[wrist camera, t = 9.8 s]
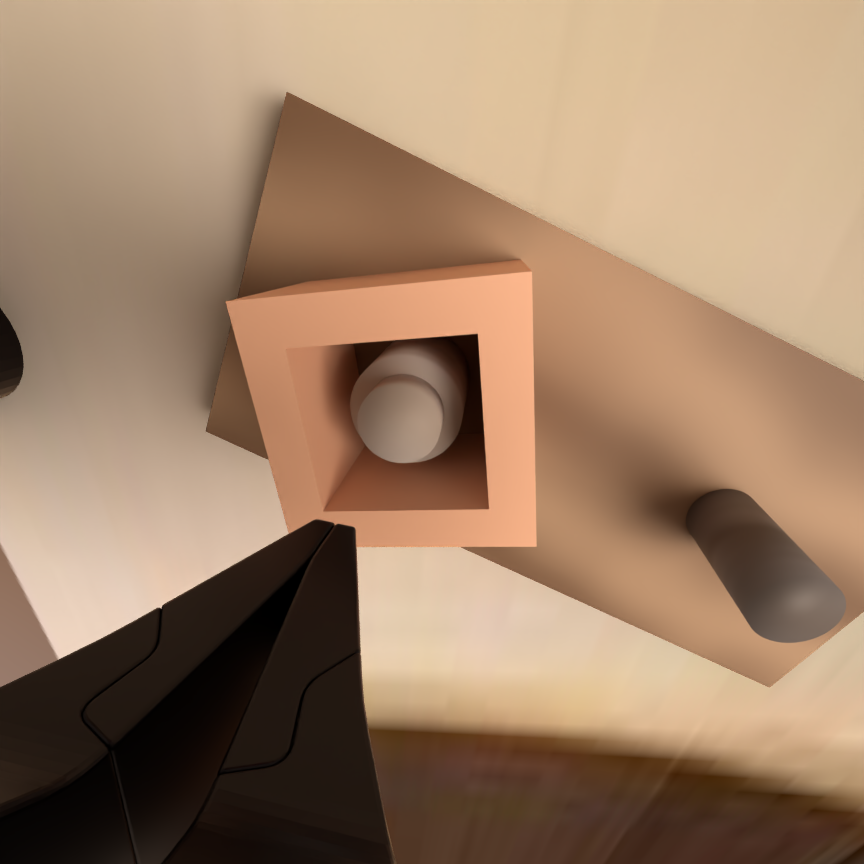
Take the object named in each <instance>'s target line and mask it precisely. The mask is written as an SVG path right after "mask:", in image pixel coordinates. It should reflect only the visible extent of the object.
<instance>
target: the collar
mask: <svg viewBox="0 0 864 864" xmlns="http://www.w3.org/2000/svg"><path fill="white" fill-rule="evenodd" d="M226 305H227V309H228V312H229V316H230V320H231V323H232V327H233V331H234V334H235V338H236V342H237V345H238V349H239V353H240V356H241V360H242V364H243V367H244V371H245V375H246V378H247V382H248V386H249V389H250V393H251V396H252V400H253V404H254V407H255V411H256V415H257V418H258V422H259V426H260V429H261V433H262V437H263V440H264V444H265V448H266V451H267V455H268V459H269V462H270V466H271V470H272V473H273V477H274V481H275V484H276V488H277V492H278V495H279V499H280V503H281V506H282V510H283V514H284V517H285V521H286V525H287V528H288V532H289V533H291V532H293V531H295V530H296V529H298V528H300V527H302V526H304V525H305V524H307V523H309V522H311V521H312V520H315V519H320V520H324V521H329V522H333V523H334V524H335V525H336V524H343V525H348V526H353V527H354V528H355V529H356V547H537V537H536V476H535V415H534V355H533V294H532V271H531V270H530V269H529V267H528V266H527V265H526V264H525V263H524V262H523V261H522V260H511V261H502V262H492V263H482V264H473V265H463V266H453V267H443V268H434V269H424V270H414V271H405V272H395V273H385V274H376V275H366V276H356V277H347V278H337V279H327V280H317V281H308V282H304V283H300V284H296V285H291V286H287V287H283V288H279V289H275V290H271V291H267V292H263V293H259V294H255V295H251V296H246V297H242V298H238V299H234V300H230V301H226ZM467 334H478V342H479V358H480V374H481V389H482V405H483V421H484V433H481V434H458V435H457V437H456V438H455V440H454V441H453V443H452V444H451V445H450V446H449V447H448V448H447V449H446V450H445V451H444V452H442V453H441V454H440V455H438V456H436V457H434V458H432V459H429V460H426V461H422V462H414V463H395V462H390V461H387V460H384V459H382V458H380V457H378V456H377V455H376V454H374V453H373V452H372V451H371V450H370V449H369V448H368V447H367V446H366V445H365V443H364V442H363V440H362V438H361V437H360V435H359V434H358V432H357V430H356V428H355V426H354V423H353V420H352V417H351V410H350V400H351V394H352V391H353V388H354V385H355V383H356V381H357V380H358V378H359V373H358V367H357V361H356V355H355V350H354V344H353V343H364V342H377V341H390V340H403V339H416V338H429V337H442V336H454V335H467Z"/></svg>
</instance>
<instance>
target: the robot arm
mask: <svg viewBox="0 0 864 864" xmlns="http://www.w3.org/2000/svg"><path fill="white" fill-rule="evenodd" d="M22 374H23V354H22V350H21V346H20V343H19V340H18V337H17V335H16V332H15V330H14V329H13V327H12V325H11V323H10V321H9V320H8V318H7V317H6V315H5V314H4V313H3V311H2V310H1V308H0V398H3V397H5V396H8V395H9V394H10V393H12V392H13V391H14V390H15V389H16V387H17V386H18V385H19V383H20V380H21V378H22ZM360 653H361V647H360V622H359V597H358V573H357V548H356V529H355V528H354V527H353V526H348V525H343V524H336V525H335V524H334V523H333V522H329V521H324V520H320V519H315V520H312V521H311V522H309V523H307V524H305V525H304V526H302V527H300V528H298V529H296V530H295V531H293V532H291V533H289V534H288V535H286V536H284V537H282V538H281V539H279V540H277V541H275V542H273V543H272V544H270V545H268V546H266V547H265V548H263V549H261V550H259V551H257V552H256V553H254V554H252V555H250V556H249V557H247V558H245V559H243V560H242V561H240V562H238V563H236V564H234V565H233V566H231V567H229V568H227V569H226V570H224V571H222V572H220V573H219V574H217V575H215V576H213V577H211V578H210V579H208V580H206V581H204V582H203V583H201V584H199V585H197V586H195V587H194V588H192V589H190V590H188V591H187V592H185V593H183V594H181V595H180V596H178V597H176V598H174V599H172V600H171V601H169V602H167V603H165V604H164V605H163V606H162V609H161V608H156V609H154V610H153V611H151V612H149V613H147V614H146V615H144V616H142V617H140V618H138V619H137V620H135V621H133V622H131V623H129V624H127V625H126V626H124V627H122V628H120V629H118V630H116V631H114V632H113V633H111V634H109V635H107V636H105V637H103V638H101V639H99V640H97V641H95V642H93V643H91V644H89V645H87V646H85V647H83V648H81V649H79V650H77V651H75V652H73V653H71V654H69V655H67V656H65V657H63V658H61V659H59V660H57V661H55V662H52V663H50V664H48V665H46V666H44V667H42V668H40V669H38V670H36V671H33V672H31V673H29V674H27V675H25V676H23V677H21V678H19V679H17V680H14V681H12V682H11V683H8V684H6V685H4V686H2V687H0V864H397V863H396V860H395V856H394V852H393V849H392V844H391V840H390V836H389V832H388V827H387V823H386V818H385V813H384V808H383V803H382V798H381V792H380V787H379V782H378V777H377V772H376V767H375V762H374V757H373V751H372V746H371V741H370V736H369V730H368V724H367V718H366V711H365V705H364V695H363V683H362V666H361V655H360Z"/></svg>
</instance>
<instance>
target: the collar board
mask: <svg viewBox="0 0 864 864" xmlns="http://www.w3.org/2000/svg"><path fill="white" fill-rule="evenodd" d="M511 260H522V261H523V262H524V263H525V264H526V265H527V266H528V267H529V269H530V270H531V271H532V294H533V355H534V415H535V476H536V537H537V547H461V548H464V549H466V550H468V551H470V552H472V553H475V554H477V555H479V556H481V557H483V558H486V559H488V560H490V561H492V562H494V563H497V564H499V565H501V566H503V567H505V568H508V569H510V570H512V571H514V572H516V573H519V574H521V575H523V576H525V577H527V578H530V579H532V580H534V581H536V582H538V583H541V584H543V585H545V586H547V587H549V588H552V589H554V590H556V591H558V592H560V593H563V594H565V595H567V596H569V597H572V598H574V599H576V600H578V601H580V602H583V603H585V604H587V605H589V606H591V607H594V608H596V609H598V610H600V611H602V612H605V613H607V614H609V615H611V616H613V617H616V618H618V619H620V620H622V621H624V622H627V623H629V624H631V625H633V626H635V627H638V628H640V629H642V630H644V631H646V632H649V633H651V634H653V635H655V636H657V637H660V638H662V639H664V640H666V641H668V642H671V643H673V644H675V645H677V646H679V647H682V648H684V649H686V650H688V651H690V652H693V653H695V654H697V655H699V656H701V657H704V658H706V659H708V660H710V661H712V662H715V663H717V664H719V665H721V666H723V667H726V668H728V669H730V670H732V671H734V672H737V673H739V674H741V675H743V676H745V677H748V678H750V679H752V680H754V681H756V682H759V683H761V684H763V685H765V686H767V687H771V686H772V685H773V684H774V683H776V682H777V681H778V680H779V679H781V678H782V677H783V676H784V675H786V674H787V673H788V672H789V671H791V670H792V669H793V668H794V667H796V666H797V665H798V664H799V663H801V662H802V661H803V660H804V659H806V658H807V657H808V656H809V655H811V654H812V653H813V652H814V651H815V650H817V649H818V648H819V647H820V646H822V645H823V644H824V643H825V642H827V641H828V640H829V639H830V638H832V637H833V636H834V635H835V634H837V633H838V632H839V631H840V630H842V629H843V628H844V627H845V626H847V625H848V624H849V623H850V622H851V621H853V620H854V619H855V618H856V617H858V616H859V615H860V614H861V613H863V612H864V381H863V380H861V379H859V378H857V377H855V376H853V375H851V374H849V373H847V372H845V371H843V370H841V369H839V368H837V367H835V366H833V365H831V364H829V363H827V362H825V361H823V360H821V359H819V358H817V357H815V356H813V355H811V354H809V353H807V352H805V351H803V350H801V349H799V348H797V347H795V346H793V345H791V344H789V343H787V342H785V341H783V340H781V339H779V338H777V337H775V336H773V335H771V334H769V333H767V332H765V331H763V330H761V329H759V328H757V327H755V326H753V325H751V324H749V323H747V322H745V321H743V320H741V319H739V318H737V317H735V316H733V315H731V314H729V313H727V312H725V311H723V310H721V309H719V308H717V307H715V306H713V305H711V304H709V303H707V302H705V301H703V300H701V299H699V298H697V297H695V296H693V295H691V294H689V293H687V292H685V291H683V290H681V289H679V288H677V287H675V286H673V285H671V284H669V283H667V282H665V281H663V280H661V279H659V278H657V277H655V276H653V275H651V274H649V273H647V272H645V271H643V270H641V269H639V268H637V267H635V266H633V265H631V264H629V263H627V262H625V261H623V260H621V259H619V258H617V257H615V256H613V255H611V254H609V253H607V252H605V251H603V250H601V249H599V248H597V247H595V246H593V245H591V244H589V243H587V242H585V241H583V240H581V239H579V238H577V237H575V236H573V235H571V234H569V233H567V232H565V231H563V230H561V229H560V228H558V227H556V226H554V225H552V224H550V223H548V222H546V221H544V220H542V219H540V218H538V217H536V216H534V215H532V214H530V213H528V212H526V211H524V210H522V209H520V208H518V207H516V206H514V205H512V204H510V203H508V202H506V201H504V200H502V199H500V198H498V197H496V196H494V195H492V194H490V193H488V192H486V191H484V190H482V189H480V188H478V187H476V186H474V185H472V184H470V183H468V182H466V181H464V180H462V179H460V178H458V177H456V176H454V175H452V174H450V173H448V172H446V171H444V170H442V169H440V168H438V167H436V166H434V165H432V164H430V163H428V162H426V161H424V160H422V159H420V158H418V157H416V156H414V155H412V154H410V153H408V152H406V151H404V150H402V149H400V148H398V147H396V146H394V145H392V144H390V143H388V142H386V141H384V140H382V139H380V138H378V137H376V136H374V135H372V134H370V133H368V132H366V131H364V130H362V129H360V128H358V127H356V126H354V125H352V124H350V123H348V122H346V121H344V120H342V119H340V118H338V117H336V116H334V115H332V114H330V113H328V112H326V111H324V110H322V109H320V108H318V107H316V106H314V105H312V104H310V103H308V102H306V101H304V100H302V99H300V98H298V97H296V96H294V95H292V94H290V93H288V92H287V93H286V97H285V101H284V105H283V110H282V114H281V118H280V122H279V126H278V131H277V135H276V139H275V143H274V147H273V151H272V156H271V160H270V164H269V168H268V172H267V177H266V181H265V185H264V189H263V193H262V198H261V202H260V206H259V210H258V214H257V218H256V223H255V227H254V231H253V235H252V239H251V244H250V248H249V252H248V256H247V260H246V265H245V269H244V273H243V277H242V281H241V285H240V290H239V294H238V298H242V297H246V296H251V295H255V294H259V293H263V292H267V291H271V290H275V289H279V288H283V287H287V286H291V285H296V284H300V283H304V282H308V281H317V280H327V279H337V278H347V277H356V276H366V275H376V274H385V273H395V272H405V271H414V270H424V269H434V268H443V267H453V266H463V265H473V264H482V263H492V262H502V261H511ZM238 298H237V299H238ZM353 344H354V350H355V355H356V361H357V367H358V373H359V378H358V380H357V381H356V383H355V385H354V388H353V391H352V394H351V400H350V410H351V417H352V420H353V423H354V426H355V428H356V430H357V432H358V434H359V435H360V437H361V438H362V440H363V442H364V443H365V445H366V446H367V447H368V448H369V449H370V450H371V451H372V452H373V453H374V454H376V455H377V456H378V457H380V458H382V459H384V460H387V461H390V462H395V463H414V462H422V461H426V460H429V459H432V458H434V457H436V456H438V455H440V454H441V453H442V452H444V451H445V450H446V449H447V448H448V447H449V446H450V445H451V444H452V443H453V441H454V440H455V438H456V437H457V435H458V434H481V433H484V421H483V405H482V389H481V374H480V358H479V342H478V334H467V335H454V336H442V337H429V338H416V339H403V340H390V341H377V342H364V343H353ZM206 432H208V433H211V434H213V435H215V436H217V437H219V438H222V439H224V440H226V441H228V442H230V443H233V444H235V445H237V446H239V447H241V448H244V449H246V450H248V451H250V452H252V453H255V454H257V455H259V456H261V457H263V458H266V459H268V455H267V451H266V448H265V444H264V440H263V437H262V433H261V429H260V426H259V422H258V418H257V415H256V411H255V407H254V404H253V400H252V396H251V393H250V389H249V386H248V382H247V378H246V375H245V371H244V367H243V364H242V360H241V356H240V353H239V349H238V345H237V342H236V338H235V334H234V331H233V327H232V323H231V327H230V332H229V336H228V340H227V344H226V348H225V352H224V357H223V361H222V365H221V369H220V373H219V378H218V382H217V386H216V390H215V394H214V399H213V403H212V407H211V411H210V415H209V419H208V424H207V428H206ZM268 460H269V459H268Z"/></svg>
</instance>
